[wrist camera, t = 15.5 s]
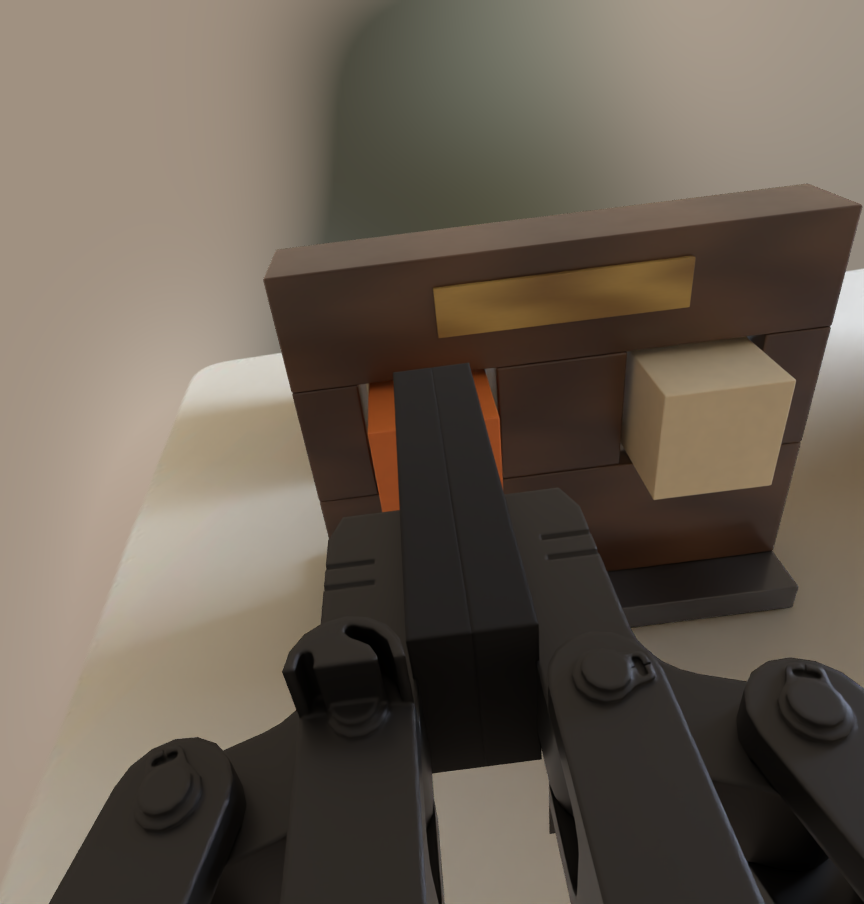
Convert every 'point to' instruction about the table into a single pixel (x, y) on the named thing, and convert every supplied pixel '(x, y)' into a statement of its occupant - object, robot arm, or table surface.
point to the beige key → (704, 416)
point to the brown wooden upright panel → (578, 363)
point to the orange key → (385, 434)
